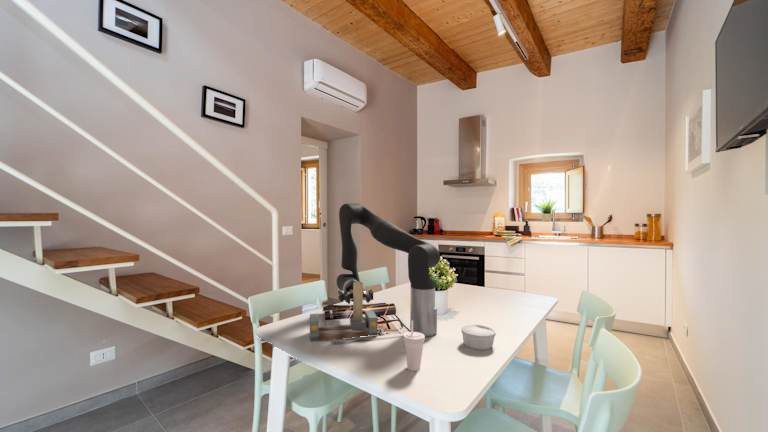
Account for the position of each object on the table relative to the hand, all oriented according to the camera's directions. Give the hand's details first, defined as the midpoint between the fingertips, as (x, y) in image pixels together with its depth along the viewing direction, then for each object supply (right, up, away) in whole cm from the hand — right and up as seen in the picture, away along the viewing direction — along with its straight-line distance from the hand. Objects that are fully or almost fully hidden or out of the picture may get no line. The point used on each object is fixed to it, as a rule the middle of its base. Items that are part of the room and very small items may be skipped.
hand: (358, 300), depth 126 cm
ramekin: (+42, -14, -7) cm, 44 cm away
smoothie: (+18, -14, -25) cm, 34 cm away
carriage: (-1, -10, +3) cm, 10 cm away
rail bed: (-6, -13, +1) cm, 14 cm away
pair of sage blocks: (-6, -13, +1) cm, 14 cm away
